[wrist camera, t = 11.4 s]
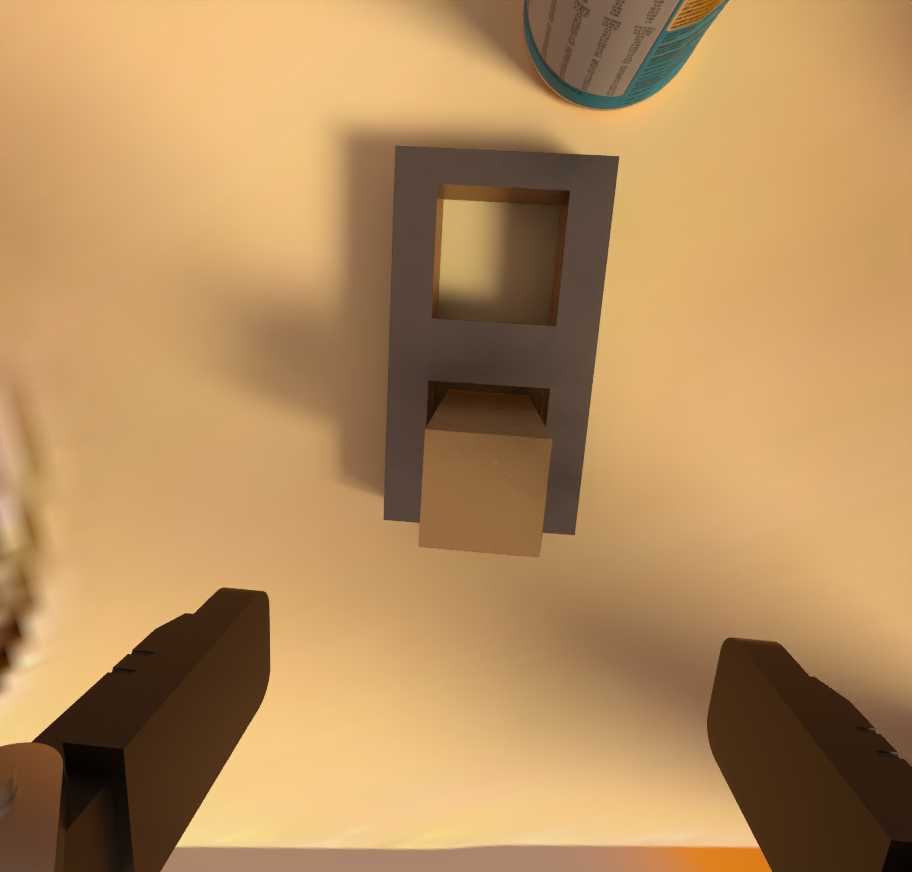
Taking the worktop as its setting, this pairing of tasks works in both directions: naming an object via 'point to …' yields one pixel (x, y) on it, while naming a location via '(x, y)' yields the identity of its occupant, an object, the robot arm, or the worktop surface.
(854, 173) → the worktop surface
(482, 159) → the block with square holes
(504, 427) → the wooden peg
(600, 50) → the beverage bottle
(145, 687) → the robot arm
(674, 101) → the worktop surface
